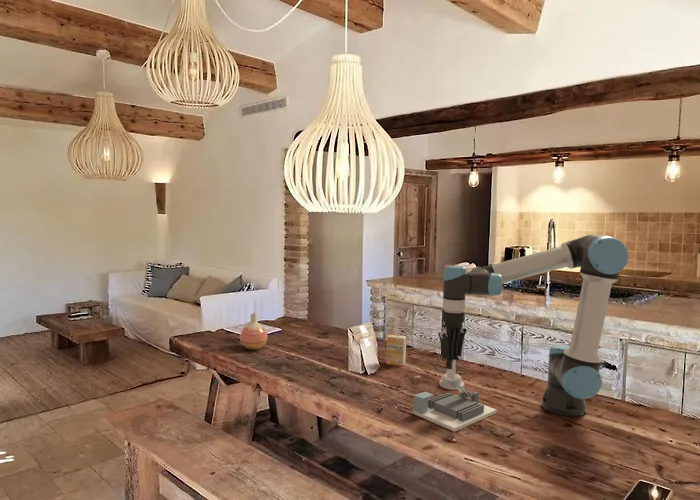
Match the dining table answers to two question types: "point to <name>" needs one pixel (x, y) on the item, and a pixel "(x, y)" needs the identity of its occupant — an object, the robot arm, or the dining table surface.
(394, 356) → the supplement box
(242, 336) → the vase
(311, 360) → the dining table surface
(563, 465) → the dining table surface
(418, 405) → the blue-grey block
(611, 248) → the robot arm
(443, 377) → the strap
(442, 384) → the beige hat
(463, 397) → the mechanical assembly board
